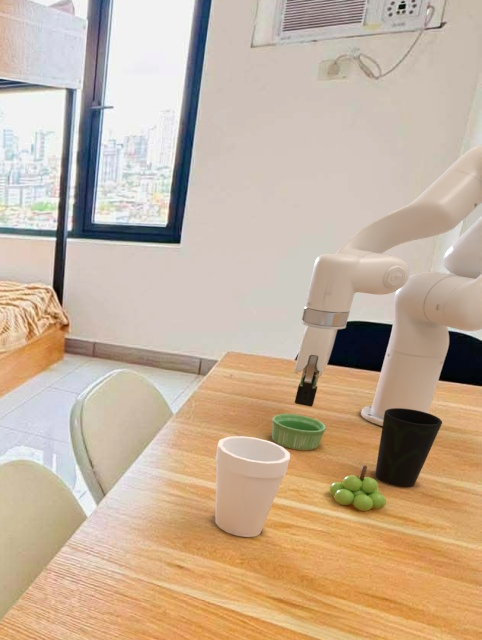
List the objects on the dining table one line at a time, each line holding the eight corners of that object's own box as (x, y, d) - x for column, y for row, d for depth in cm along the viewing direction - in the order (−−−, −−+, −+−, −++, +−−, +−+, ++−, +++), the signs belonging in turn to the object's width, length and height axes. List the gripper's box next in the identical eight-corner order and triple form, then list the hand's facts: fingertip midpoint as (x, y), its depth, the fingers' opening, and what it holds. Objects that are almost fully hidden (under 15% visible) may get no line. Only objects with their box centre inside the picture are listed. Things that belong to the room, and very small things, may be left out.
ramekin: (287, 430, 130) (291, 410, 129) (331, 446, 123) (336, 425, 121) (258, 438, 127) (262, 418, 125) (302, 455, 119) (307, 434, 117)
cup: (432, 492, 105) (453, 426, 101) (381, 488, 107) (399, 423, 103) (407, 471, 112) (425, 409, 108) (359, 467, 114) (376, 406, 110)
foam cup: (266, 515, 99) (283, 440, 95) (279, 547, 91) (297, 467, 86) (201, 506, 102) (213, 433, 98) (207, 536, 94) (221, 458, 89)
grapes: (323, 488, 107) (332, 453, 105) (371, 494, 105) (381, 458, 103) (338, 510, 100) (348, 473, 98) (389, 517, 98) (401, 479, 96)
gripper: (306, 308, 132) (287, 390, 138) (297, 321, 120) (277, 410, 127) (349, 313, 127) (328, 398, 134) (344, 327, 116) (321, 419, 122)
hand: (303, 403), depth 130 cm, fingers closed
